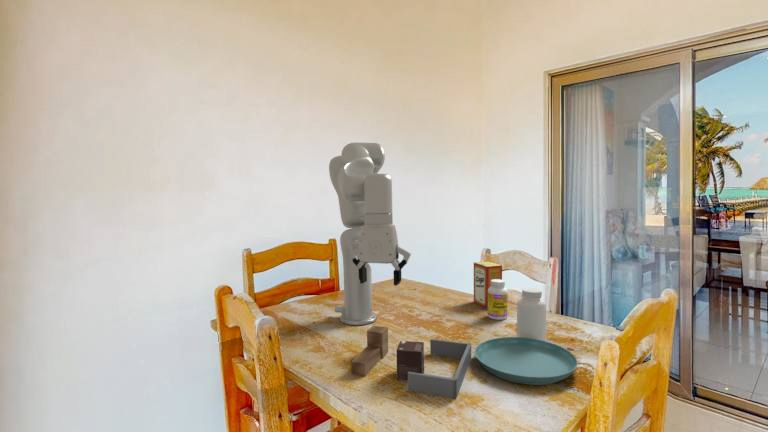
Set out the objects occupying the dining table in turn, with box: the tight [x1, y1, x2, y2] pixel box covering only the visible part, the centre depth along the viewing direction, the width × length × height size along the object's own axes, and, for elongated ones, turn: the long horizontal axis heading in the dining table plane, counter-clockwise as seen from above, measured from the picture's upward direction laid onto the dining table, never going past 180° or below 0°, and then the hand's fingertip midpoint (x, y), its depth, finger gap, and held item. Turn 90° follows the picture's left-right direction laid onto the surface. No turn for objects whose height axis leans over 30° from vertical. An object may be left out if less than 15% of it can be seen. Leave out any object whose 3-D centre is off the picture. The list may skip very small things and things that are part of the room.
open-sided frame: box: [407, 338, 472, 400], centre depth 97 cm, size 11×22×4 cm, turn 159°
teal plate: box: [474, 336, 579, 386], centre depth 101 cm, size 24×24×3 cm
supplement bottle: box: [487, 279, 509, 321], centre depth 138 cm, size 7×7×13 cm
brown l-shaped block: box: [351, 325, 389, 377], centre depth 104 cm, size 4×15×7 cm, turn 159°
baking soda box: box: [473, 261, 503, 309], centre depth 154 cm, size 10×6×16 cm
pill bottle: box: [516, 287, 547, 342], centre depth 117 cm, size 8×8×15 cm
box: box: [396, 340, 425, 381], centre depth 96 cm, size 6×6×7 cm
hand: (380, 283), depth 108 cm, fingers open, 9 cm apart
